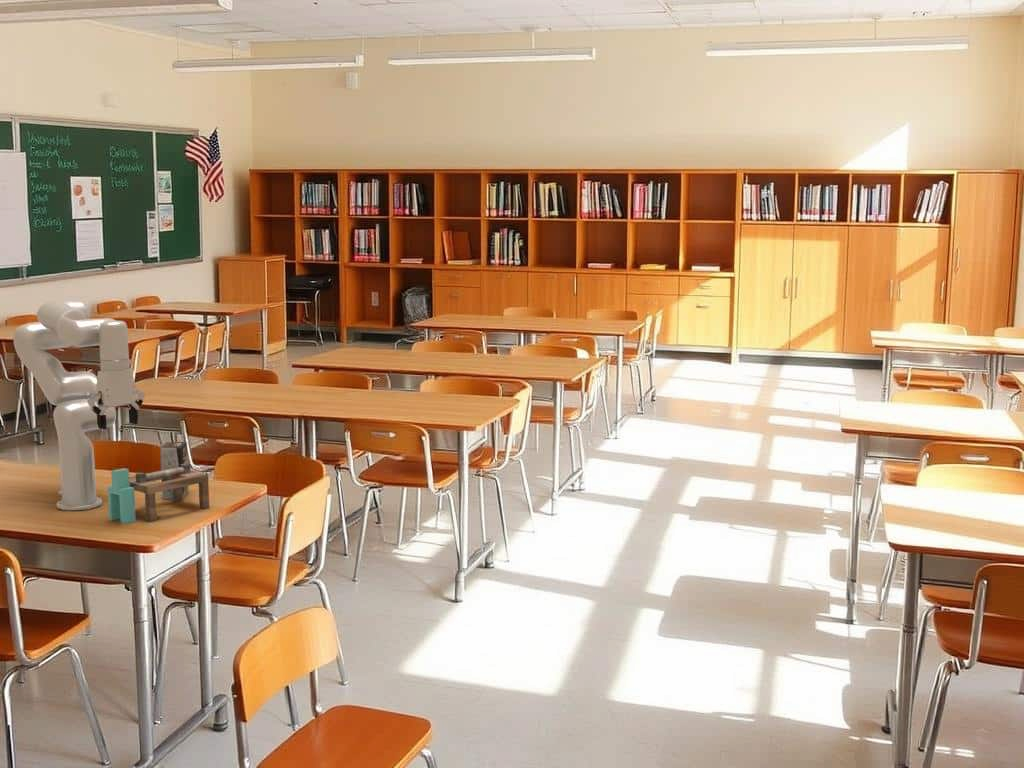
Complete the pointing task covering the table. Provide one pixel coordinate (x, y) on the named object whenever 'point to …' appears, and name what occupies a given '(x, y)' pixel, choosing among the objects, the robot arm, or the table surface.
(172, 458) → the coffee box
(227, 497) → the table surface
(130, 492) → the teal stepped block
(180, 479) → the wooden rack stand
